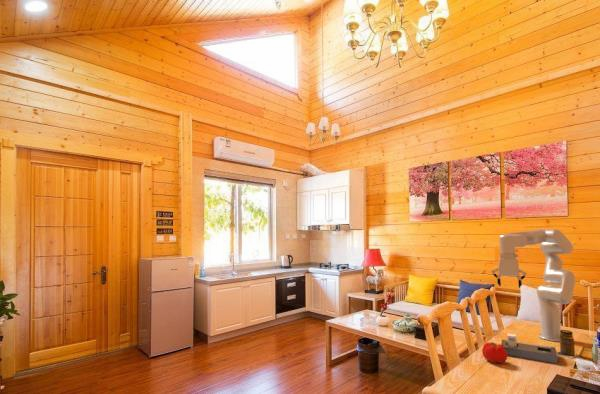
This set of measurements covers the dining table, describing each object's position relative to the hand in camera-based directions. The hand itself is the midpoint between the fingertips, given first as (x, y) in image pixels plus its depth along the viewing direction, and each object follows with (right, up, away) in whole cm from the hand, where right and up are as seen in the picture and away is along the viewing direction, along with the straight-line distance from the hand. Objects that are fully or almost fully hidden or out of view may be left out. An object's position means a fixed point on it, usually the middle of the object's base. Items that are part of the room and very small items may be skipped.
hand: (509, 286), depth 194 cm
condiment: (+21, -32, -15) cm, 41 cm away
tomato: (-22, -31, -24) cm, 46 cm away
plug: (-5, -32, -12) cm, 35 cm away
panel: (0, -32, -15) cm, 35 cm away
